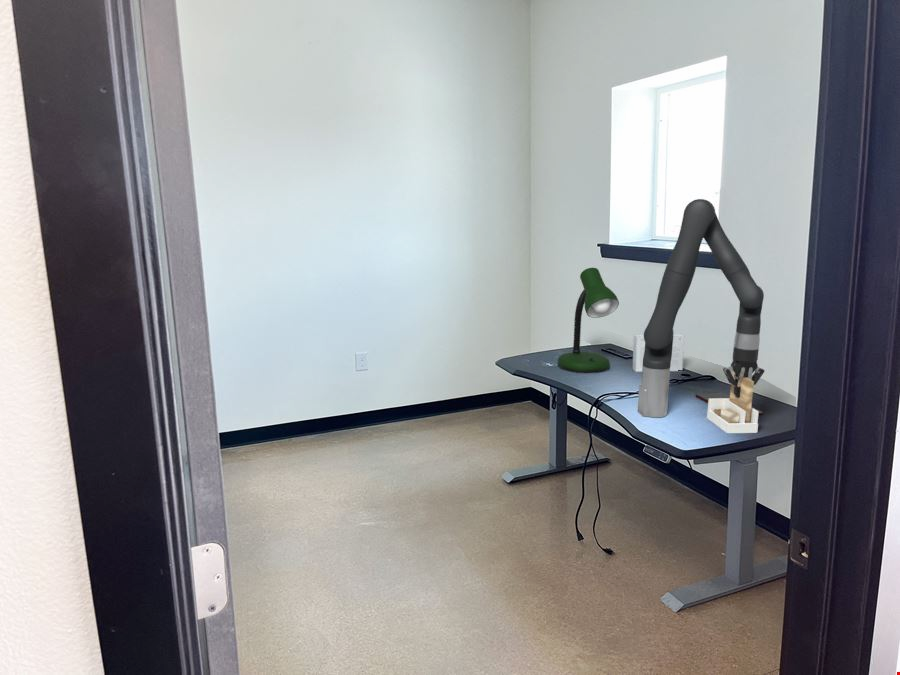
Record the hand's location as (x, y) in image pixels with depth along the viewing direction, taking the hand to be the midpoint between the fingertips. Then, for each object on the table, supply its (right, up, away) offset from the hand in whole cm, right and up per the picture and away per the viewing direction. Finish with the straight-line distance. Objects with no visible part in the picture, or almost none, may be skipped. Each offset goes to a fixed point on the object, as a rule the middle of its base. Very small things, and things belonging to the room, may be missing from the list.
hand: (740, 396), depth 217 cm
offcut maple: (-4, -7, -1) cm, 9 cm away
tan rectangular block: (0, -9, +2) cm, 9 cm away
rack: (-2, -10, +2) cm, 10 cm away
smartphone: (+6, -6, +23) cm, 25 cm away
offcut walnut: (-5, -9, +5) cm, 11 cm away
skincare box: (-5, +5, +71) cm, 72 cm away
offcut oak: (-4, -10, -1) cm, 11 cm away
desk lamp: (-35, +6, +74) cm, 82 cm away
